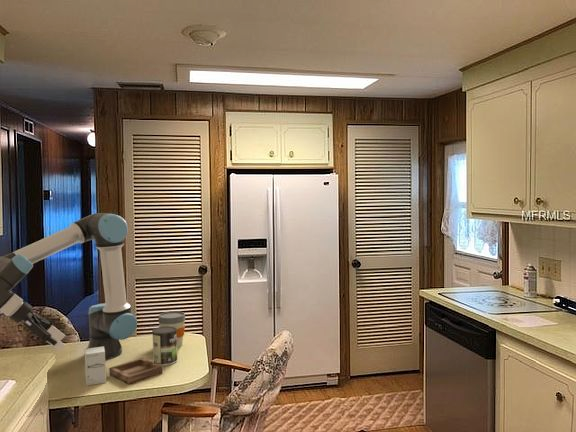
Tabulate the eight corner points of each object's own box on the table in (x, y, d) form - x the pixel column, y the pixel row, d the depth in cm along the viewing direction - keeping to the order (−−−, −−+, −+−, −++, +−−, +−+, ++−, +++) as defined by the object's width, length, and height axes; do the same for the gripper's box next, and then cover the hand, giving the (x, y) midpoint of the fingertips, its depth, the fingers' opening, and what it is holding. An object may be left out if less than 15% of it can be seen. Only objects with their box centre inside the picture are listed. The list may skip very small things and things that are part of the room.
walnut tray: (109, 375, 200) (109, 367, 200) (142, 364, 211) (142, 357, 211) (128, 385, 190) (128, 377, 190) (162, 373, 201) (162, 366, 201)
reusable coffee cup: (158, 342, 239) (157, 312, 238) (184, 340, 243) (183, 310, 242) (159, 351, 227) (158, 319, 226) (187, 348, 231) (186, 316, 230)
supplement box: (86, 386, 190) (84, 354, 189) (85, 379, 196) (84, 348, 195) (106, 383, 192) (105, 351, 192) (105, 376, 199) (104, 345, 198)
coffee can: (181, 357, 218) (180, 326, 217) (171, 366, 208) (170, 333, 207) (159, 356, 221) (158, 325, 219) (148, 365, 210) (147, 332, 209)
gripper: (11, 309, 192) (55, 341, 199) (5, 325, 169) (55, 361, 176) (26, 294, 193) (69, 326, 201) (21, 308, 171) (70, 345, 178)
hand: (63, 343), depth 188 cm, fingers open, 13 cm apart
